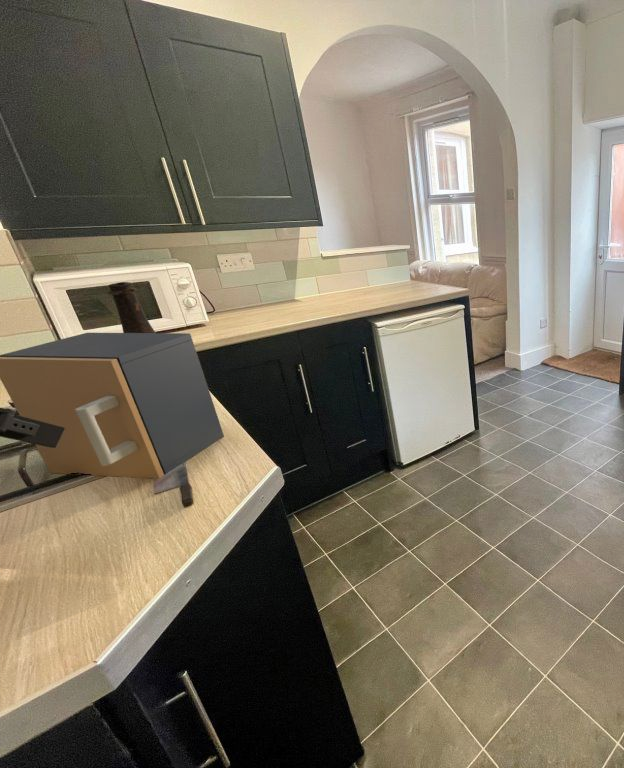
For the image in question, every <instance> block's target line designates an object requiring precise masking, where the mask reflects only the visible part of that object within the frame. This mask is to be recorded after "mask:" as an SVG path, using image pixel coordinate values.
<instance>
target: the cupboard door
mask: <svg viewBox="0 0 624 768" xmlns="http://www.w3.org/2000/svg"><path fill="white" fill-rule="evenodd" d="M0 382H1V383H2V385H3V387H4V388H5V390H6V392H7V394H8V396H9V398H10V400H11V402H12V403H13V406H14V407H15V409H16V412H17V413H18V416H22V417H26V418H30V419H34V420H37V421H41V422H45V423H49V424H53V425H56V426H60V427H64V428H65V429H64V431H63V433H62V435H61V437H60V440H59V442H58V444H57V446H56V448H50V447H46V446H41V445H37V444H34V445H35V446H36V449H37V451H38V452H39V454H40V456H41V458H42V460H43V462H44V464H45V465H46V468H47V469H48V471H49V472H50V474H65V475H72V474H71V473H77V472H79V473H84V474H91V475H90V476H100V477H119V478H136V479H137V478H139V479H153V480H154V479H160V478H161V477H162V476H164V473H163V471H162V468H161V466H160V464H159V461H158V459H157V456H156V454H155V451H154V449H153V446H152V444H151V442H150V439H149V437H148V434H147V432H146V429H145V427H144V424H143V422H142V420H141V417H140V415H139V412H138V410H137V407H136V405H135V402H134V400H133V398H132V395H131V393H130V390H129V388H128V385H127V383H126V380H125V378H124V376H123V373H122V371H121V368H120V366H119V363H118V361H117V359H97V358H38V357H0Z"/></svg>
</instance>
